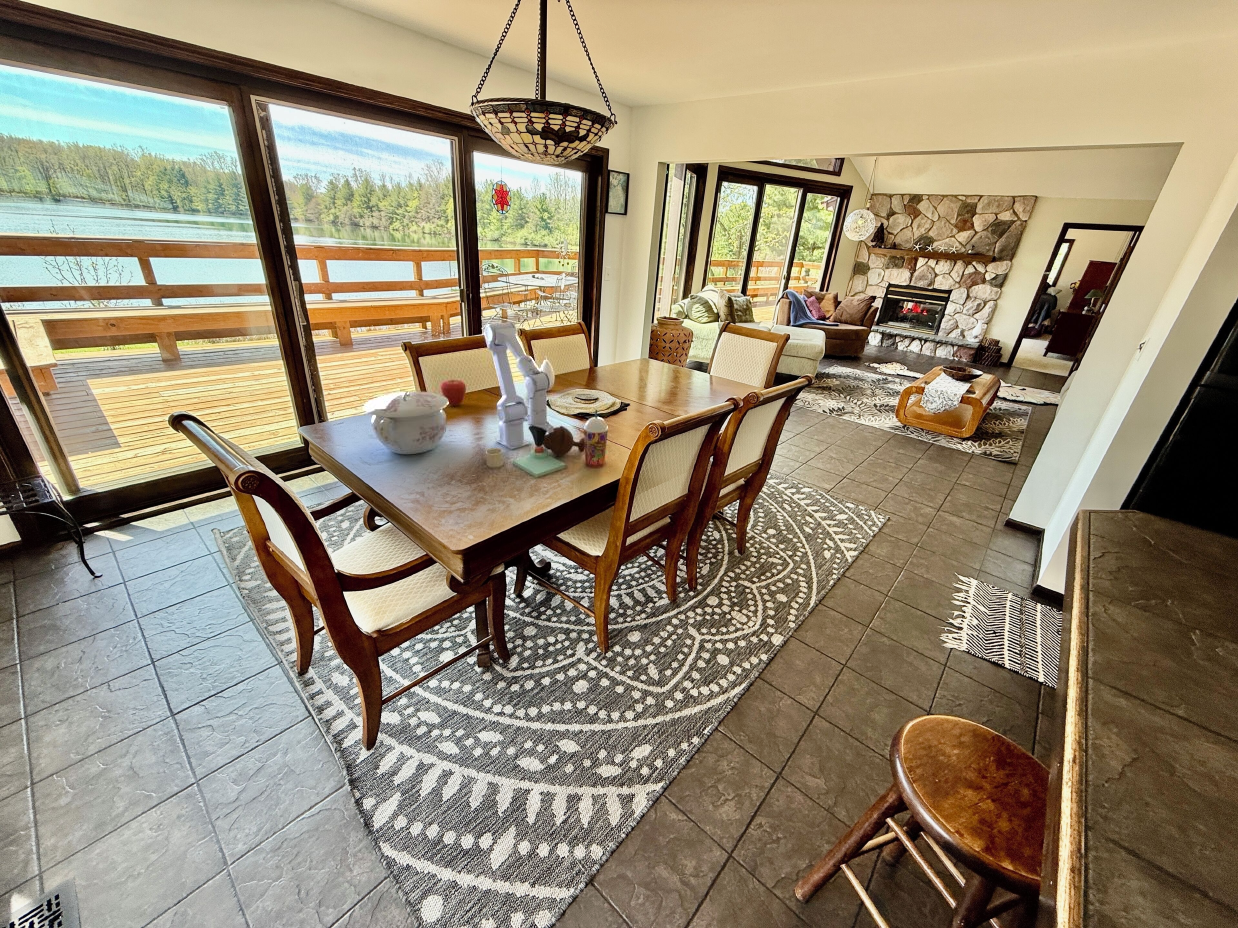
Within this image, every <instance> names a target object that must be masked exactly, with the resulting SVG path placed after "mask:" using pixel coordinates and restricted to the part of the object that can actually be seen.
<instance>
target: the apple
mask: <svg viewBox="0 0 1238 928" xmlns="http://www.w3.org/2000/svg"><path fill="white" fill-rule="evenodd" d="M439 387H440V392H441V395H443V396H444V397H446V398H447V399H448V401H449V403H448V405H450V406H451V407H457V406H459V405H460V404H462V403H463V401H464V398H465V396H466V392H467V387H466V383H464V381H462V380H459V379H448V380H444V381H442V382H441V383H440V385H439Z"/></svg>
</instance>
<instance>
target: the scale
mask: <svg viewBox="0 0 1238 928" xmlns="http://www.w3.org/2000/svg"><path fill="white" fill-rule="evenodd" d="M543 449H544V452H543V453H535V447H534V448H532V449H531V450H530V454H527V455H524V456H521V457H518V458H514V459H512V464H513V465H514V466H516V467H518V468H520V469H521V470H523V471H524V472H526V473H528V474H530V475H531V476H532V477H534V478H536V479H537V478H541V477H543V476H545V475H548V474H552V473H555V472H557V471H559V470H564V469H565V468H566V464H565V463H564V462H563V461H560V460H558V459H556V458H554V457H553V456H551V455H549V449H546V448H545V447H543Z"/></svg>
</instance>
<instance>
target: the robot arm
mask: <svg viewBox="0 0 1238 928" xmlns="http://www.w3.org/2000/svg"><path fill="white" fill-rule="evenodd" d="M518 332H519V331H518V329H517V326H516V325H515V323H514V322H513V321H508V322H501V323H488V324H486V325H485V328H484V333H483V334H484V339H485V343H486V346H487V349H488V350H489V351H490V352H491V356H492V360H493V364H494V368H495V372H496V377H497V381H498V384H499V388H500V392H501V398H500V399H499V401H498V402H497V403H496V408H497V418H498V420H499V421H500V422H499V425H498V433H499V440H497V443H499V444H500V445H503V446H504V447H506V448H508V449H509V450H514V449H517V448H521V447H525V446H528V445H530V442H528V441H526V440H525V429H524V427H525V426H524V422H527V423H526V424H527V426H528V430H529V432H530V433H531V436H532V438H533V442H534V445H535V447H536V446H537V447H539V446H543V441H544V437H545V435H546V434H549V433H551V432H554V428H555V427H554V425H552V424H551V423H550V422H549V420H548V411H547V409H548V407H547V404H548V403H547V391H546V389H548V388H549V386H550V380H549V377H548V375H547V374H546V373H545V372H543V371H541V370H540V367H538V365H537V364H536V362H535V360H534V359H533V358H532V356H531V355H527V353H526V352H525V349H524V348H523V346H522V344H521V342H520V340H519V333H518ZM507 351H510V353H511V355H513V356H514V358H515V359H516V367H517V369H518V370H519V372H520V373H521V374H522V377H523V378H524V380H525V381H524V385H525V389H526V392H527V396H528V400H529V401H528V402H529V403H528V404H529V407H528V406H527V405H526V403H525V400H524V398H523V397H522V396H520V395H518V394H517V391H516V386H515V382H514V377H513V373H512V370H511V365H510V361H509V358H508V357H509V356H508V353H507ZM528 408H529V409H528Z"/></svg>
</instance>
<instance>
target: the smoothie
mask: <svg viewBox="0 0 1238 928" xmlns="http://www.w3.org/2000/svg"><path fill="white" fill-rule="evenodd" d="M608 432H609V426H608V424H607V422H606V421H605V420H604V419H603V418H602V417H599V416H598V409H595V410H594V416H593V417H590V418H588V419H587V420H586V422H585V424H584V425H583V438H584V443H585V449H584V460H585V463H586V465H587V466H588V467H592V468H599V467H602V466H603V465H604V463H605V462H606V451H607V441H608Z"/></svg>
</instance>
